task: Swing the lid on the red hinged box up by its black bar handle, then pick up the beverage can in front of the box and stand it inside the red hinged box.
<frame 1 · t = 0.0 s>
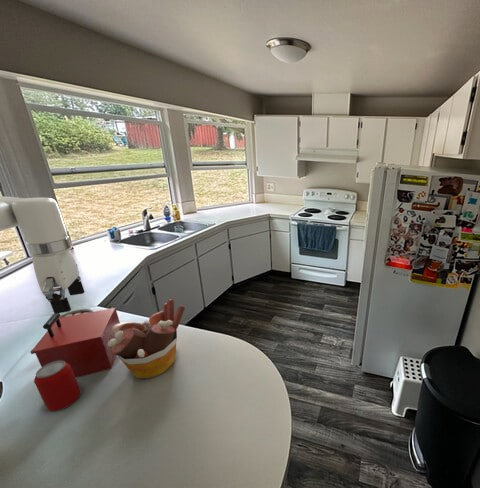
hand: (70, 302, 71), 25 cm above the table, tool pointing down, fingers open, 9 cm apart
red hinged box: (91, 357, 84), on the table
bucket of meat: (156, 364, 82), on the table
beverage can: (65, 402, 69), on the table
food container: (80, 337, 93), on the table
warmer lid: (76, 321, 79), point 15 cm above the table, hinge at 0.0°
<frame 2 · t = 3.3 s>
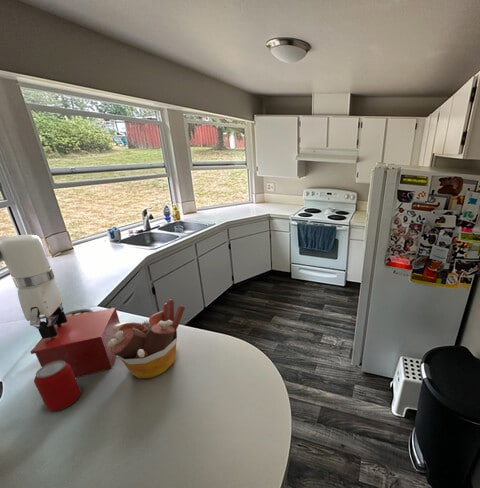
hand: (55, 329, 77), 13 cm above the table, tool pointing down, fingers closed on warmer lid, 6 cm apart
warmer lid: (76, 321, 79), point 15 cm above the table, hinge at 0.0°, touching gripper
everything else where it was.
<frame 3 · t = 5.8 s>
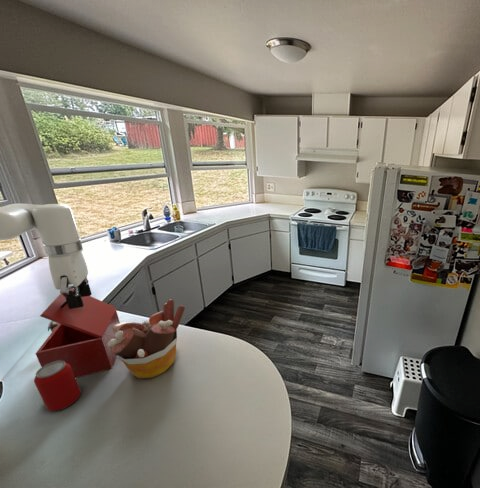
hand: (81, 301, 78), 22 cm above the table, tool pointing down, fingers closed on warmer lid, 6 cm apart
warmer lid: (89, 305, 79), point 20 cm above the table, hinge at 46.9°, touching gripper
everything else where it was.
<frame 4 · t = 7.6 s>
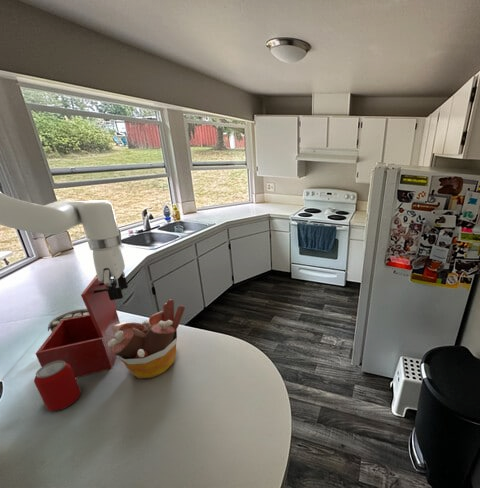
hand: (119, 293, 82), 22 cm above the table, tool pointing down, fingers closed on warmer lid, 6 cm apart
warmer lid: (110, 300, 81), point 20 cm above the table, hinge at 86.5°, touching gripper
everything else where it was.
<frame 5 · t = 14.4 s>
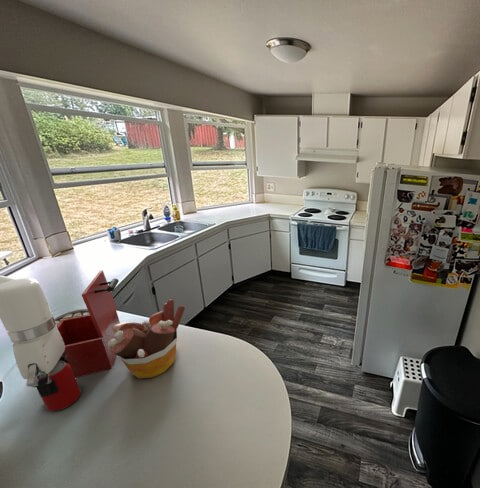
hand: (56, 382, 67), 7 cm above the table, tool pointing down, fingers closed on beverage can, 6 cm apart
beverage can: (65, 402, 69), on the table, touching gripper
warmer lid: (110, 300, 81), point 20 cm above the table, hinge at 87.0°
everything else where it was.
when the fingers open (8 cm above the table, at t = 23.0 s): beverage can stays where it is, resting on red hinged box.
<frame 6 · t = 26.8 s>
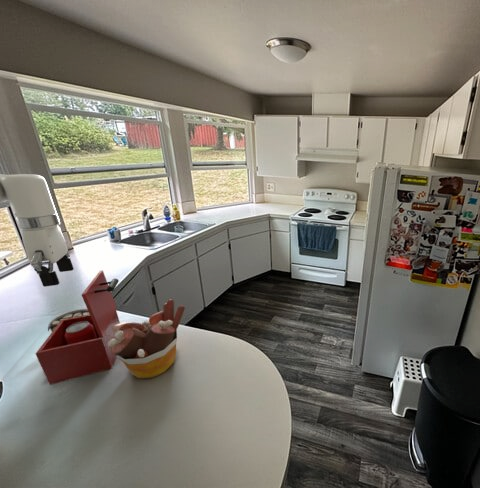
hand: (59, 277, 73), 30 cm above the table, tool pointing down, fingers open, 9 cm apart
beverage can: (88, 356, 84), point 1 cm above the table, touching red hinged box
everything else where it was.
at the end: warmer lid at +87° (first picture: +0°); beverage can inside the target area in the red hinged box (0.5 cm from its centre), point 0.6 cm above the red hinged box's base; the gripper is holding nothing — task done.
